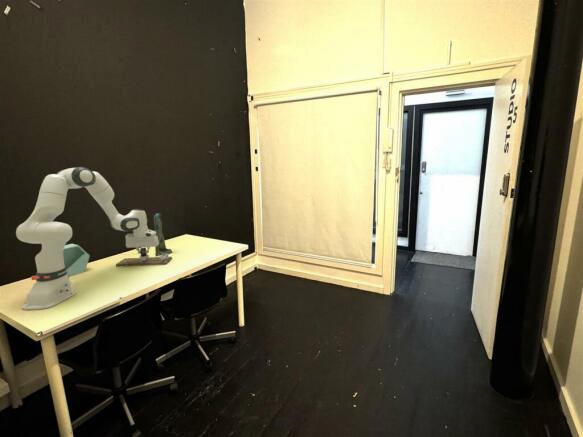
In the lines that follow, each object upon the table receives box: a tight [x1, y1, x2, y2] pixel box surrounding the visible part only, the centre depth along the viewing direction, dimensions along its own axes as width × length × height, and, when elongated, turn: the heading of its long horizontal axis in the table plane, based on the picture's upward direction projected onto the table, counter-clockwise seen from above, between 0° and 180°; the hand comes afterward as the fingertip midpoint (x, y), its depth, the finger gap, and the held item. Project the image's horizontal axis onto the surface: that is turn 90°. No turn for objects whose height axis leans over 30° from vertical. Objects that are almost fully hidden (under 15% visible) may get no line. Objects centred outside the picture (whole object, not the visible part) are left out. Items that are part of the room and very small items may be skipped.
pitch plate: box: [115, 253, 173, 268], centre depth 204 cm, size 12×32×6 cm, turn 94°
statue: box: [153, 213, 173, 257], centre depth 221 cm, size 7×11×30 cm, turn 124°
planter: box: [63, 243, 90, 277], centre depth 186 cm, size 17×8×21 cm
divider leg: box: [138, 247, 150, 262], centre depth 202 cm, size 8×4×8 cm, turn 4°
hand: (143, 253), depth 203 cm, fingers closed on divider leg, 4 cm apart
